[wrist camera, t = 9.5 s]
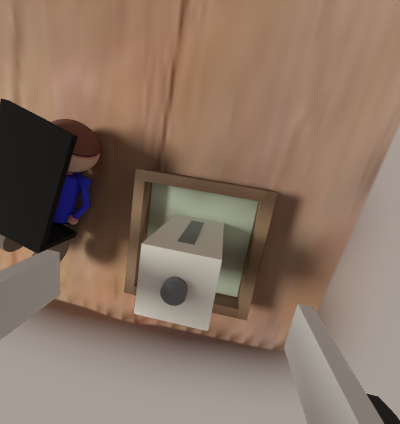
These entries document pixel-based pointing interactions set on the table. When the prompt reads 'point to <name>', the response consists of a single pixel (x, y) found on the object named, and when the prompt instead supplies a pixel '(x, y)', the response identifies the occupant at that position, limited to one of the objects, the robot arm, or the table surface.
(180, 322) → the strip block
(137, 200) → the brown wooden square tray
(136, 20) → the table surface
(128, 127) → the table surface
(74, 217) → the figurine character
